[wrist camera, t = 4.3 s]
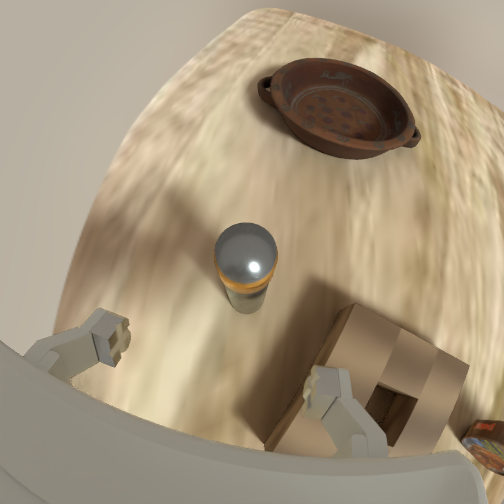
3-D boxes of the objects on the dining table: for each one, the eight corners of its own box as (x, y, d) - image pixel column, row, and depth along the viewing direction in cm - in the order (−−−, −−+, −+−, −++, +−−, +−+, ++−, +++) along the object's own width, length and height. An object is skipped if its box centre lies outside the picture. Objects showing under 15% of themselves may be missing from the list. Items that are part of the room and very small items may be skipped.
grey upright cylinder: (253, 321, 24) (258, 295, 13) (221, 303, 25) (200, 262, 14) (271, 290, 25) (290, 239, 14) (240, 273, 26) (234, 210, 15)
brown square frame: (384, 485, 18) (401, 499, 15) (263, 444, 21) (266, 460, 17) (446, 366, 23) (469, 365, 19) (340, 310, 25) (355, 302, 21)
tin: (450, 434, 20) (500, 446, 12) (465, 411, 21) (517, 416, 13) (492, 475, 16) (532, 485, 9) (505, 455, 17) (545, 463, 9)
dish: (414, 202, 29) (435, 179, 24) (233, 146, 31) (232, 115, 26) (409, 111, 35) (421, 89, 30) (272, 69, 37) (274, 43, 32)
